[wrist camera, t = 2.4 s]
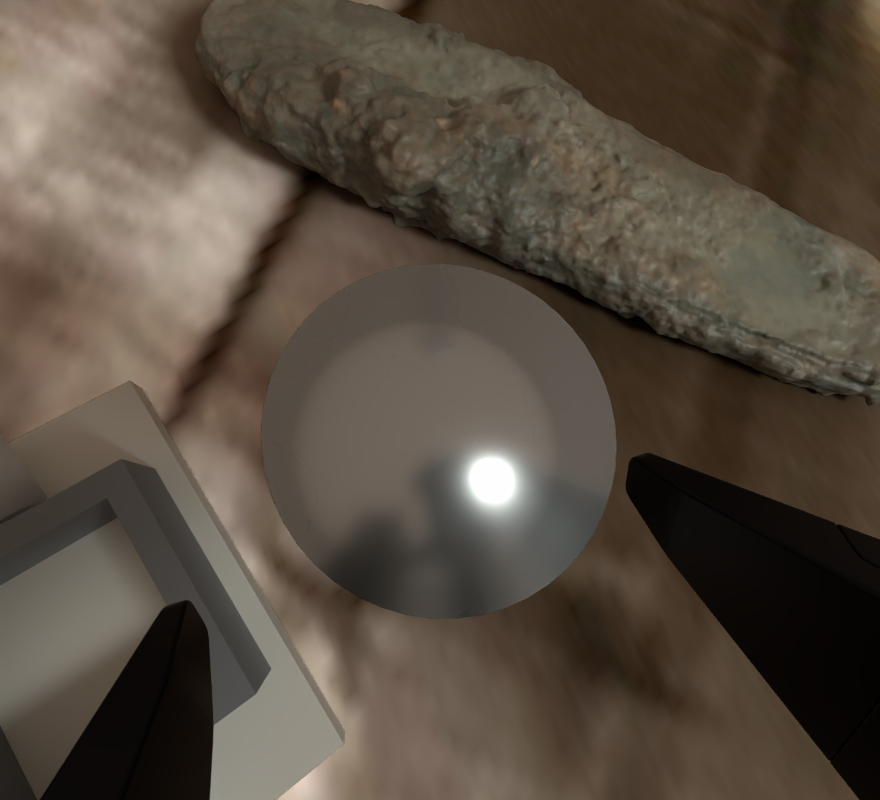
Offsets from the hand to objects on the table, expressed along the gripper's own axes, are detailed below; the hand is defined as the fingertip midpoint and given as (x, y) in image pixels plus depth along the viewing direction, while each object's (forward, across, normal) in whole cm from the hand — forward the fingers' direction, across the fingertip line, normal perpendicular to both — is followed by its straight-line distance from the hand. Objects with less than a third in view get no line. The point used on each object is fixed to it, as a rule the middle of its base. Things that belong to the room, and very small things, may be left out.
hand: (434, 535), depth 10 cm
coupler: (+7, 0, +5) cm, 9 cm away
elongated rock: (+15, -12, -1) cm, 19 cm away
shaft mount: (+6, +10, +7) cm, 13 cm away
